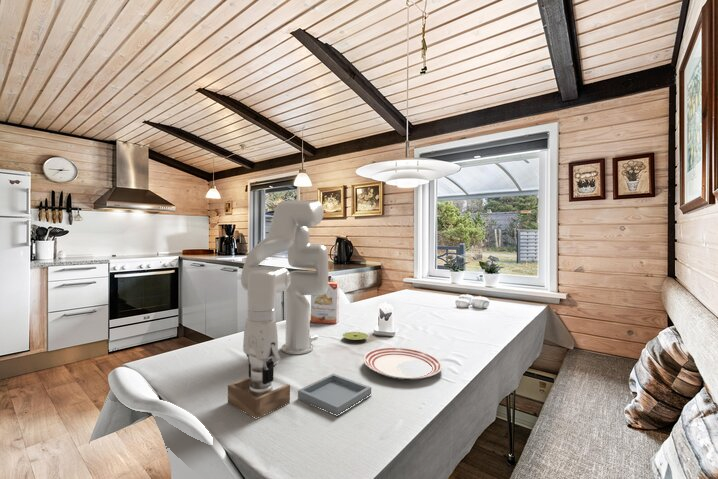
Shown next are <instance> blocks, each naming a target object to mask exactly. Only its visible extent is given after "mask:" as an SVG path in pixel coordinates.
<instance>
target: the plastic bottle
mask: <svg viewBox="0 0 718 479" xmlns="http://www.w3.org/2000/svg"><path fill="white" fill-rule="evenodd" d="M269 356H271V353H270V354H269ZM249 357H250V363H251V380H250V387H249V393H250V394H252V395H254V396H256V397H260V396H262V395H264V394H266V393H269V392H271V391H273V390H274V387H273V383H272V382H273V381H272V382H270V383H267V384H263V370H264V364H263V360H259V359H257V358H255V357H256V352H255V350H254V349H253V347H252V348H250V350H249ZM267 362H268V363H269V362H270V359H268V360H267Z"/></svg>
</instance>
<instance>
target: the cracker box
mask: <svg viewBox="0 0 718 479" xmlns="http://www.w3.org/2000/svg"><path fill="white" fill-rule="evenodd" d="M339 317H340V282H339V281H338V282H334V281H328V290H327V292H326V294H324V295H310V323H319V324H320V323H321V324H330V323H331V324H333V325H337V324H338V323H339V319H340V318H339ZM331 324H330V325H331Z"/></svg>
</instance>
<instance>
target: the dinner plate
mask: <svg viewBox="0 0 718 479" xmlns="http://www.w3.org/2000/svg"><path fill="white" fill-rule="evenodd" d="M362 360H363V363H364V364H365V366H367V368H369V370H372V371H374V372H375V373H378V374H380V375H382V376H384V377H389V378H391V377H392V379H396V378H398V379H397V380H404V379H410V380H417V379H418V380H420V379H425V378H429V377H432V376H433V377H434V376H435V375H438V374H439V373H440V372H441V370H442V368H443V365H442V363H441V360H439V359H438V358H437V357H436V356H434V355H432V354H431V353H427V352H425V351H421V350H419V349H414V348H410V347H409V348H408V347H401V346H400V347H398V346H389V347H386V346H385V347H379V348H375V349H372V350H370V351H368V352H366V353H365V355H364V356H363V359H362ZM411 360H412V361H413V360H418V361H423V362H425V363H428V364H429V365H430V366H431V367H432V371H431V372H430V373H428V374H427V375H424V376H419V377H412V376H411V377H410V376H405V375H406V374H405V373H404V374H405V375H404V374H403V373H402V371H401V370H400V368H399V370H400V371H399V370H398V369H397V367H396V366H398V364H402V362H405V361H411ZM397 370H398V371H397ZM402 374H403V375H402Z"/></svg>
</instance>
